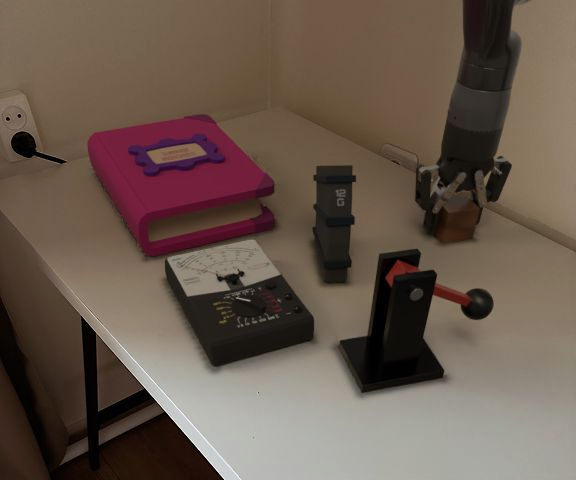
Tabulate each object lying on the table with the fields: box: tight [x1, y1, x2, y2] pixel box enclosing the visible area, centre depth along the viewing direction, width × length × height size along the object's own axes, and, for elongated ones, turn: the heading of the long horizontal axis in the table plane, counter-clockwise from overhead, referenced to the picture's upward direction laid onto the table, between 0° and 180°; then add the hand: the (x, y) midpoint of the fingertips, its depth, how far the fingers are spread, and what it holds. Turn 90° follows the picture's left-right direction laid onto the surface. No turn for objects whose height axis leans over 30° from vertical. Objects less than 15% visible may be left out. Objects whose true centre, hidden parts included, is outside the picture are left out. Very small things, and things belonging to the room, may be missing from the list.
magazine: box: [311, 164, 357, 284], centre depth 86 cm, size 4×13×15 cm, turn 6°
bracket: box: [338, 248, 445, 394], centre depth 70 cm, size 10×8×14 cm
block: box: [434, 192, 480, 244], centre depth 95 cm, size 5×5×5 cm
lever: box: [385, 260, 495, 321], centre depth 70 cm, size 14×4×4 cm, turn 105°
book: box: [86, 113, 276, 257], centre depth 99 cm, size 21×28×8 cm
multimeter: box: [164, 239, 315, 366], centre depth 80 cm, size 13×19×5 cm
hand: (450, 228), depth 96 cm, fingers open, 6 cm apart
